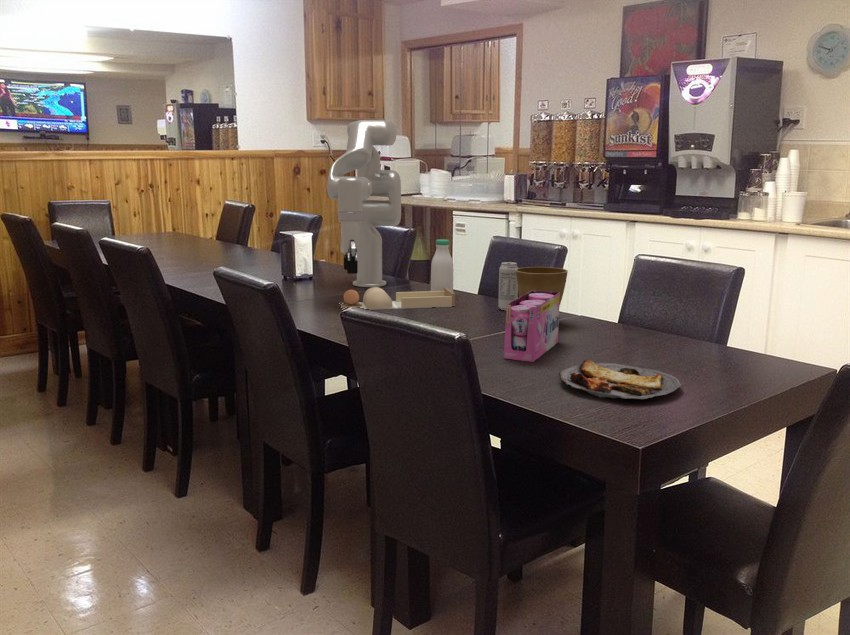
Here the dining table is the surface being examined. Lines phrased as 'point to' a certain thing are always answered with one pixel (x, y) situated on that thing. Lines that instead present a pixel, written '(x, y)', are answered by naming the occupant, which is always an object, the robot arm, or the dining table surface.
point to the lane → (406, 299)
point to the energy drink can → (507, 284)
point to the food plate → (618, 380)
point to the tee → (350, 305)
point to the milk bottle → (442, 267)
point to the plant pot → (541, 279)
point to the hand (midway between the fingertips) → (350, 271)
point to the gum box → (531, 325)
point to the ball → (351, 297)
